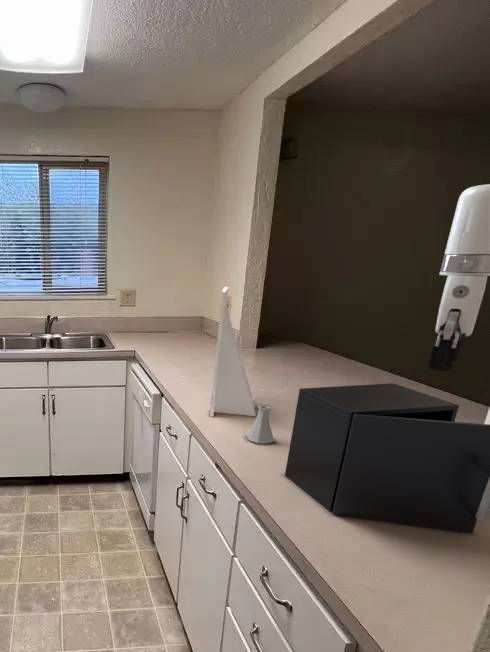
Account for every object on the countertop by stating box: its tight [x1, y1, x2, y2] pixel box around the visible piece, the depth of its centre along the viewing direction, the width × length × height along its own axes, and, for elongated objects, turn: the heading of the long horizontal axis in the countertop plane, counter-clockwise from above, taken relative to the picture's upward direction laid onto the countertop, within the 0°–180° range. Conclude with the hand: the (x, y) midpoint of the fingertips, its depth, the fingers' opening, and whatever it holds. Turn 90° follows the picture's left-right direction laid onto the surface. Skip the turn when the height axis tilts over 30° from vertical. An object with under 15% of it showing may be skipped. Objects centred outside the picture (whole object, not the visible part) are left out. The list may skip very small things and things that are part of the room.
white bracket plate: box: [209, 286, 257, 418], centre depth 143 cm, size 20×14×40 cm
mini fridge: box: [284, 382, 460, 513], centre depth 95 cm, size 16×24×22 cm, turn 99°
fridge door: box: [331, 414, 490, 534], centre depth 80 cm, size 6×24×22 cm, turn 74°
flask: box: [246, 404, 275, 445], centre depth 123 cm, size 7×7×10 cm
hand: (442, 364), depth 79 cm, fingers open, 9 cm apart
